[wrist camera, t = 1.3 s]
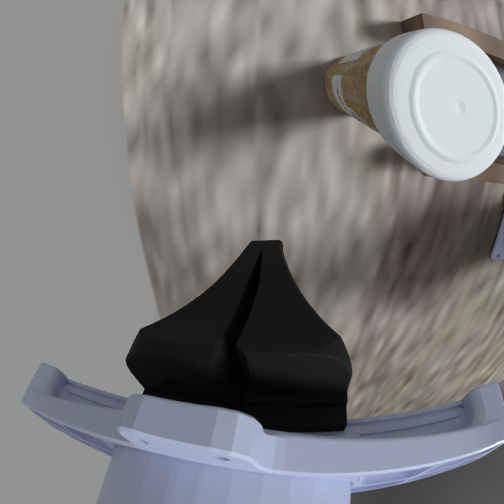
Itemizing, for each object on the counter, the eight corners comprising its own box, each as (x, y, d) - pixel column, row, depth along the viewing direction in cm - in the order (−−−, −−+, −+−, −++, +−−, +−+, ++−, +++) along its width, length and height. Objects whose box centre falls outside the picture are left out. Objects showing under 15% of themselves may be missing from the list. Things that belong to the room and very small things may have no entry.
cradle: (522, 61, 10) (547, 66, 7) (517, 173, 16) (539, 189, 13) (401, 21, 12) (421, 13, 9) (407, 159, 18) (425, 176, 15)
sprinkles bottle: (317, 105, 17) (363, 154, 6) (331, 47, 14) (400, -4, 4) (378, 124, 17) (486, 206, 6) (392, 68, 14) (525, 79, 4)
